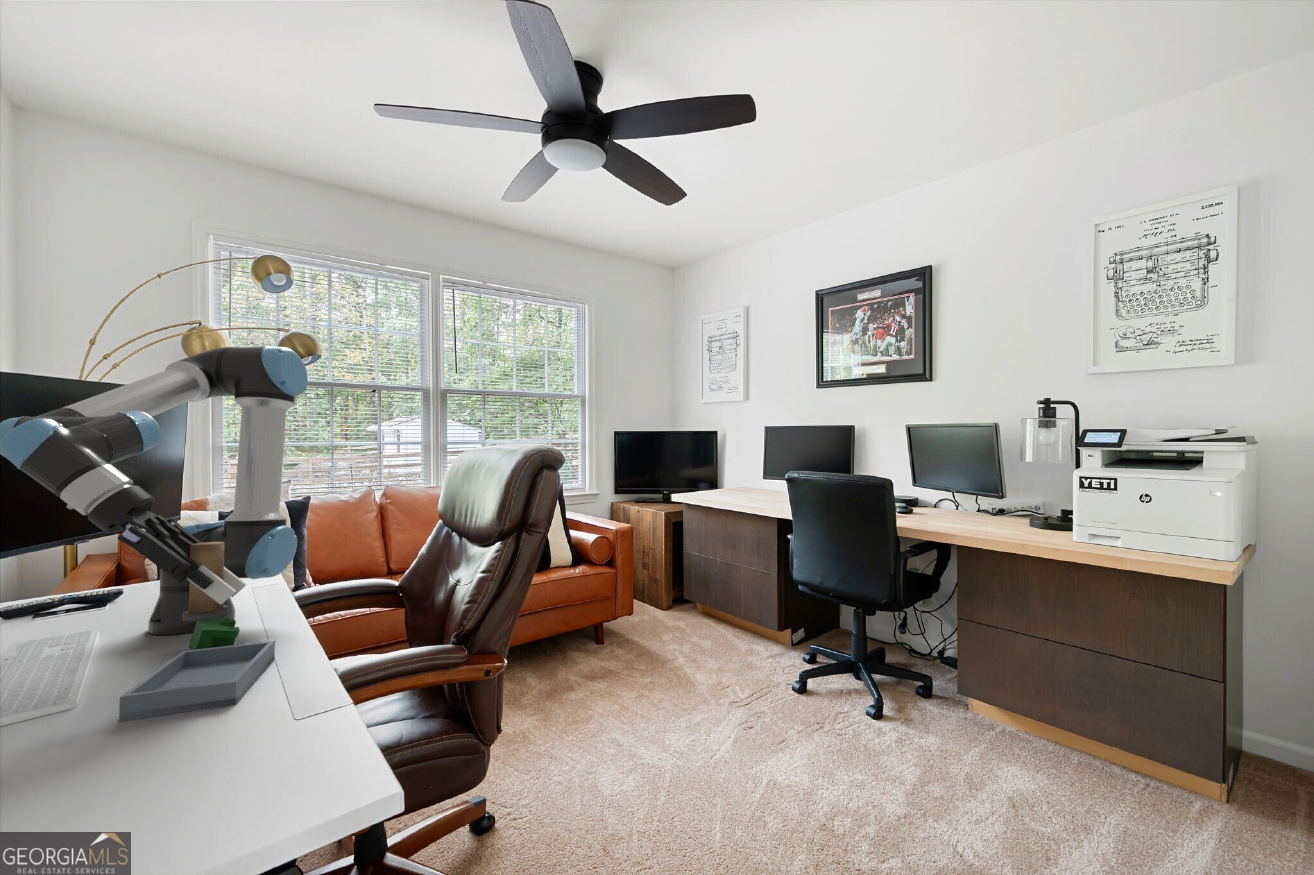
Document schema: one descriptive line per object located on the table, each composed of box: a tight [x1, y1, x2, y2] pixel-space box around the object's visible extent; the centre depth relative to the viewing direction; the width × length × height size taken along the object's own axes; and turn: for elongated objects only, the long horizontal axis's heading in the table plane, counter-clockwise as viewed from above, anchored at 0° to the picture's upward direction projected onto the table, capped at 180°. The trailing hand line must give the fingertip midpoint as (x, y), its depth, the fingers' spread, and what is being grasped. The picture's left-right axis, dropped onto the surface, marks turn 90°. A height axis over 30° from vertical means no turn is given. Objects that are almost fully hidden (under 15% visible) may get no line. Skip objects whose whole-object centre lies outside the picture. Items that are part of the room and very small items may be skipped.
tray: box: [118, 640, 276, 722], centre depth 91 cm, size 20×14×4 cm
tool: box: [182, 542, 229, 622], centre depth 91 cm, size 6×6×12 cm
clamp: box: [188, 618, 241, 650], centre depth 108 cm, size 12×6×9 cm, turn 37°
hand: (234, 594), depth 92 cm, fingers closed on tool, 4 cm apart
